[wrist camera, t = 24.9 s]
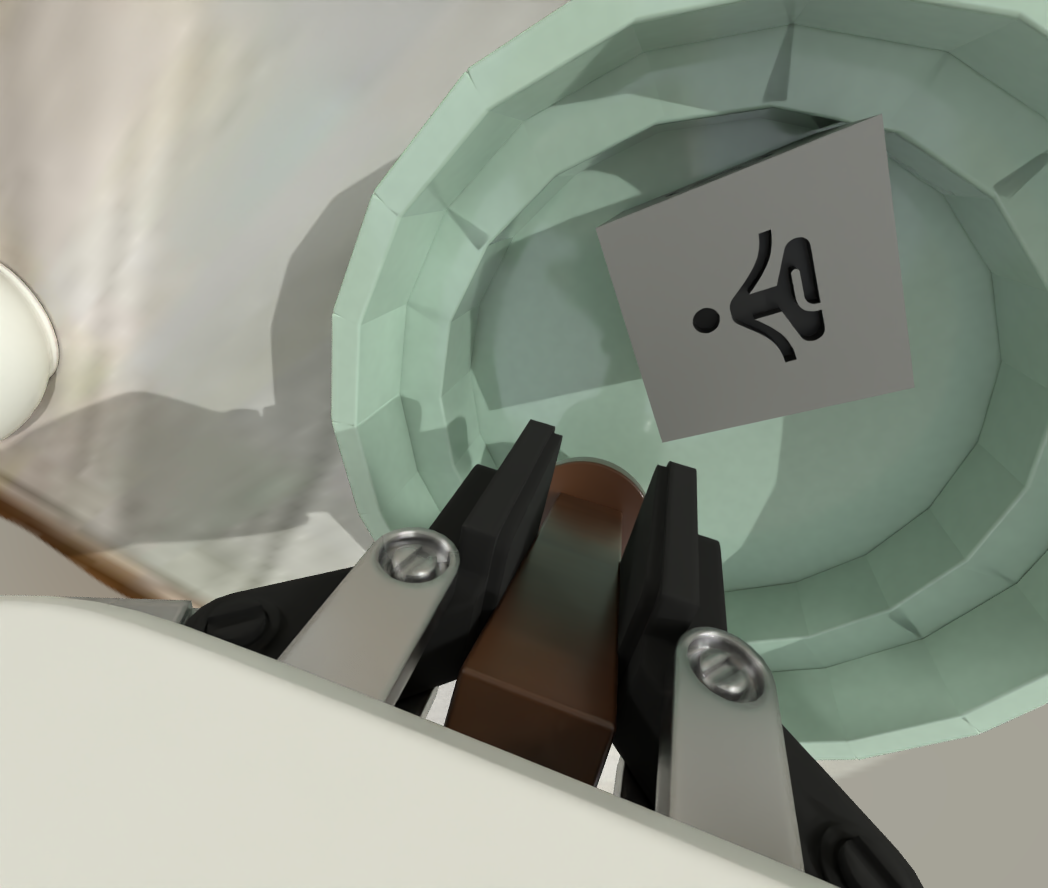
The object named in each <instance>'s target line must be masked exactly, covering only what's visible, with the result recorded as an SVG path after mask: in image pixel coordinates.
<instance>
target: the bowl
mask: <svg viewBox="0 0 1048 888" xmlns="http://www.w3.org/2000/svg"><path fill="white" fill-rule="evenodd" d="M879 114H882V117H883V125H884V134H885V142H886V151H887V159H888V168H889V176H890V184H891V193H892V201H893V210H894V218H895V226H896V235H897V243H898V252H899V260H900V269H901V277H902V285H903V294H904V302H905V311H906V319H907V327H908V336H909V344H910V353H911V361H912V369H913V378H914V386H915V388H911V389H906V390H901V391H897V392H892V393H888V394H883V395H879V396H874V397H869V398H865V399H860V400H856V401H851V402H847V403H842V404H837V405H833V406H828V407H824V408H819V409H814V410H810V411H805V412H801V413H796V414H792V415H787V416H782V417H778V418H773V419H769V420H764V421H760V422H755V423H750V424H746V425H741V426H737V427H732V428H728V429H723V430H718V431H714V432H709V433H705V434H700V435H695V436H691V437H686V438H682V439H677V440H673V441H668V442H663V443H662V440H661V437H660V434H659V430H658V427H657V424H656V421H655V418H654V414H653V411H652V408H651V405H650V402H649V398H648V395H647V392H646V389H645V386H644V382H643V379H642V376H641V373H640V370H639V366H638V363H637V360H636V357H635V354H634V350H633V347H632V344H631V341H630V338H629V334H628V331H627V328H626V325H625V322H624V318H623V315H622V312H621V309H620V306H619V302H618V299H617V296H616V293H615V290H614V286H613V283H612V280H611V277H610V274H609V270H608V267H607V264H606V261H605V257H604V254H603V251H602V248H601V245H600V241H599V238H598V235H597V232H596V229H595V228H597V227H598V226H600V225H602V224H603V223H605V222H607V221H608V220H610V219H611V218H613V217H615V216H616V215H618V214H619V213H621V212H623V211H625V210H628V209H630V208H633V207H635V206H638V205H640V204H643V203H645V202H648V201H650V200H652V199H655V198H657V197H660V196H662V195H665V194H667V193H670V192H672V191H675V190H677V189H680V188H682V187H685V186H687V185H689V184H692V183H694V182H697V181H699V180H702V179H704V178H707V177H709V176H712V175H714V174H717V173H719V172H722V171H724V170H727V169H729V168H731V167H734V166H736V165H739V164H741V163H744V162H746V161H749V160H751V159H754V158H756V157H759V156H761V155H764V154H766V153H768V152H771V151H773V150H776V149H778V148H781V147H783V146H786V145H788V144H791V143H793V142H796V141H798V140H801V139H803V138H806V137H808V136H810V135H813V134H815V133H818V132H821V131H825V130H828V129H831V128H835V127H838V126H842V125H845V124H848V123H852V122H855V121H859V120H862V119H865V118H869V117H872V116H876V115H879ZM333 312H334V313H333V314H332V365H331V420H332V426H333V429H334V432H335V436H336V439H337V443H338V446H339V449H340V453H341V456H342V459H343V463H344V466H345V470H346V473H347V476H348V480H349V483H350V487H351V490H352V493H353V497H354V500H355V504H356V507H357V510H358V513H359V514H360V518H361V519H362V521H363V523H364V524H365V526H366V527H367V529H368V531H369V532H370V534H371V536H372V537H373V539H374V540H375V541H376V540H378V539H379V538H380V537H381V536H382V535H384V534H386V533H388V532H390V531H393V530H396V529H401V528H406V527H421V528H426V529H429V528H430V526H431V525H432V524H433V522H434V521H435V519H436V518H437V517H438V515H439V514H440V513H441V511H442V510H443V508H444V507H445V506H446V504H447V503H448V502H449V500H450V499H451V498H452V496H453V495H454V493H455V492H456V491H457V489H458V488H459V487H460V485H461V484H462V482H463V481H464V480H465V478H466V477H467V476H468V474H469V473H470V471H471V470H472V469H473V467H474V466H475V465H476V464H480V465H483V466H486V467H489V468H493V469H496V470H498V469H499V467H500V466H501V464H502V463H503V461H504V459H505V458H506V456H507V455H508V453H509V452H510V450H511V449H512V447H513V445H514V444H515V442H516V441H517V439H518V438H519V436H520V435H521V433H522V431H523V430H524V428H525V427H526V425H527V424H528V422H529V421H530V419H532V420H536V421H539V422H542V423H545V424H549V425H552V426H555V433H556V434H559V435H562V436H563V438H562V442H561V446H560V450H559V454H558V458H557V462H558V461H561V460H564V459H567V458H573V457H594V458H599V459H603V460H606V461H609V462H611V463H614V464H616V465H617V466H619V467H621V468H623V469H624V470H625V471H627V472H628V473H629V474H630V475H632V476H633V477H634V478H635V479H636V480H637V482H638V483H639V484H640V485H641V487H642V488H643V490H644V491H645V493H646V492H647V489H648V487H649V484H650V481H651V479H652V476H653V473H654V471H655V468H656V466H657V465H661V466H665V467H666V466H667V464H668V462H669V461H672V462H675V463H678V464H682V465H685V466H688V467H691V468H695V469H696V470H697V509H698V534H699V535H702V536H705V537H708V538H712V539H715V540H718V541H719V542H720V547H721V558H722V570H723V583H724V595H725V607H726V619H727V632H729V633H731V634H733V635H735V636H737V637H739V638H740V639H742V640H743V641H744V642H746V643H747V644H749V645H750V646H751V647H752V648H753V649H754V650H755V651H756V652H757V653H758V654H759V655H760V656H761V657H762V658H763V659H764V661H765V662H766V664H767V665H768V667H769V669H770V670H771V672H772V675H773V678H774V681H775V684H776V690H777V696H778V702H779V709H780V715H781V722H782V724H783V726H784V727H785V728H786V729H787V730H788V731H789V732H790V733H791V734H792V735H793V736H794V738H795V739H796V740H797V741H798V742H799V743H800V744H801V745H802V746H803V747H804V748H805V750H806V751H807V752H808V753H809V754H810V755H811V756H812V757H813V758H814V759H815V760H855V759H856V758H857V759H858V760H860V759H865V758H870V757H874V756H879V755H884V754H889V753H894V752H898V751H903V750H908V749H913V748H917V747H922V746H927V745H932V744H936V743H941V742H946V741H951V740H955V739H960V738H965V737H969V736H975V735H979V734H980V732H981V733H984V732H986V731H988V730H991V729H993V728H995V727H997V726H999V725H1002V724H1004V723H1006V722H1008V721H1010V720H1012V719H1015V718H1017V717H1019V716H1021V715H1023V714H1026V713H1028V712H1030V711H1032V710H1034V709H1037V708H1039V707H1041V706H1043V705H1045V704H1048V0H571V1H569V2H568V3H566V4H564V5H563V6H561V7H560V8H558V9H557V10H555V11H554V12H552V13H551V14H549V15H548V16H546V17H545V18H543V19H542V20H540V21H539V22H537V23H536V24H534V25H533V26H531V27H530V28H528V29H527V30H525V31H524V32H522V33H520V34H519V35H517V36H516V37H514V38H513V39H511V40H510V41H508V42H507V43H505V44H504V45H502V46H501V47H499V48H498V49H496V50H495V51H493V52H492V53H490V54H489V55H487V56H486V57H484V58H483V59H481V60H480V61H478V62H477V63H475V64H473V65H472V66H470V67H469V68H468V72H467V71H466V72H465V73H463V75H462V76H461V77H460V79H459V80H458V81H457V82H456V84H455V85H454V86H453V88H452V89H451V90H450V92H449V93H448V94H447V96H446V97H445V98H444V99H443V101H442V102H441V103H440V105H439V106H438V107H437V109H436V110H435V111H434V112H433V114H432V115H431V116H430V118H429V119H428V120H427V122H426V123H425V124H424V126H423V127H422V128H421V129H420V131H419V132H418V133H417V135H416V136H415V137H414V139H413V140H412V141H411V143H410V144H409V145H408V146H407V148H406V149H405V150H404V152H403V153H402V154H401V156H400V157H399V158H398V160H397V161H396V162H395V163H394V165H393V166H392V167H391V169H390V170H389V171H388V173H387V174H386V175H385V177H384V178H383V179H382V180H381V182H380V183H379V184H378V186H377V187H376V188H375V190H374V194H373V195H372V196H371V199H370V202H369V205H368V208H367V211H366V214H365V217H364V220H363V222H362V225H361V228H360V231H359V234H358V237H357V240H356V243H355V246H354V249H353V252H352V255H351V258H350V261H349V264H348V267H347V270H346V273H345V276H344V279H343V282H342V285H341V288H340V291H339V294H338V297H337V300H336V303H335V306H334V309H333Z"/></svg>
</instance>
